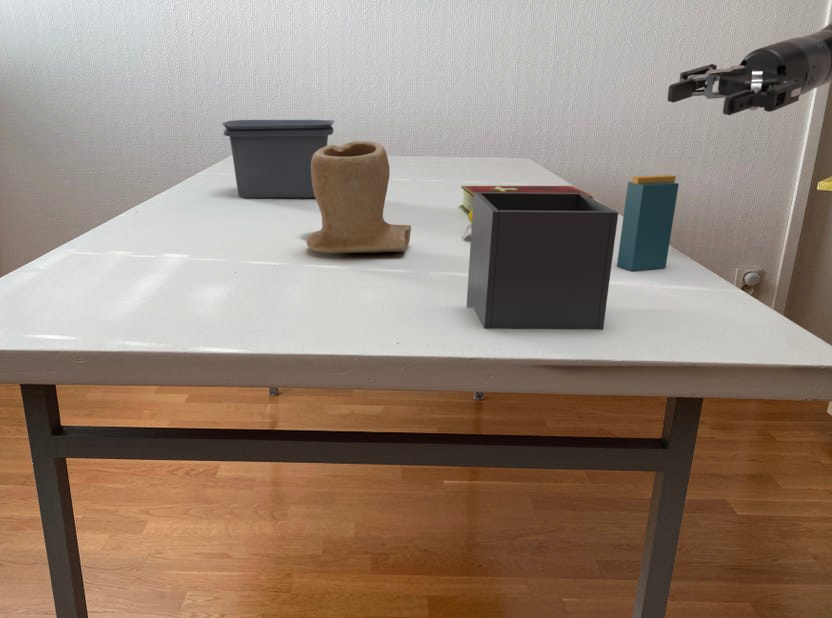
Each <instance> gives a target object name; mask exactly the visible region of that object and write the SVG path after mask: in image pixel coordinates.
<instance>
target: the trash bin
mask: <svg viewBox="0 0 832 618" xmlns="http://www.w3.org/2000/svg"><path fill="white" fill-rule="evenodd" d="M618 219H619V212H618V211H616V210H614V209H613V208H611V207H609V206H608V205H605V204H604V203H602V202H600V201H598V200H597V199H595V200H594V199H593V198H591V197H589V196H587V195H585V194H583V193H519V192H474V199H473V214H472V229H471V231H470V245H469V247H470V248H469V259H468V260H469V262H468V278H467V293H466V296H467V297H466V306H465V307H466V308H467V309H471V308H472V309H473V310H474V312H475V313H476V316H477V317H478V320H479V321H480V323H481V325H482V327H483V329H485V330H488V329H489V330H490V329H491V330H494V329H495V330H597V331H598V330H600V331H601V330H602V331H603V330H604V325H605V318H606V312H607V311H606V309H607V303H608V294H609V288H610V280H611V272H612V264H613V263H612V262H613V256H614V249H615V244H616V243H615V242H616V234H617V227H618Z"/></svg>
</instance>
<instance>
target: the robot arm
mask: <svg viewBox="0 0 832 618" xmlns="http://www.w3.org/2000/svg"><path fill="white" fill-rule="evenodd" d="M717 67H718V65H717V64H714V63H711V64H707V65H704V66H700V67H696V68H693V69H689V70H686V71H683V72H680V73H679V81H678V82H675V83H672V84H670V85H668V89H667V90H668V92H667V101H668V102H669V103H673V104H674V103H676V102H680V101H682V100H686V99H689V98H692V97H701V96H703V97H705V99H708V100H710V99H724V101H723V107H722V114H723V115H725V116H731V115H734V114H737V113H740V112H743V111H746V110H750V111H756V110H758V109H759V108H761V109H762V108H763V111H765V112H768V113H770V112H775V111H778V110H779V109H781V108H784V107H787V106H790V105H792V104H794V103H796V102H798V101H799V100H800V96H803V95H805V94H807V93H809V92H811V91H812V90H814V89H818V88H820V87H822V86H826V85H828V84H831V83H832V21H831V22H830V23H828V24H827V25H826V26H825V27H823V28H822V29H820V30H819V31H816V32H814V33H809V34H807V35H804V36H797V37H792V38H788V39H785V40H782V41H779V42H776V43H772V44H769V45H766V46H762V47H760V48H757V49H754V50H752V51H750V52H749V53H748V54H746V56H745V57H744V58H743V59H742V61H741V62H740V63H739V64H738V65H732V66H730V67H728V68H727V67H726V68H717ZM716 82H718V84H717V91H713V88H714V85H715V83H716Z"/></svg>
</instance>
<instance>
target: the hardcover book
mask: <svg viewBox="0 0 832 618" xmlns="http://www.w3.org/2000/svg"><path fill="white" fill-rule="evenodd" d="M460 188H461V189H462V190H463V191H462V192H463V193H462V204H459V208H460V209H461V210H463V211H464V212H465V213H466V215H468V216H469V213H470V211H471V210H472V209H473V199H474V192H519V193H583V194H585V195H587V196H589V197H591V198H593V199H594V200H596V196H595V195H594V194H592V193H591V192H588V191H585V190H583V189H581V188H579V187H576V186H574V185H461V186H460Z"/></svg>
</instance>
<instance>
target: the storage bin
mask: <svg viewBox="0 0 832 618" xmlns="http://www.w3.org/2000/svg"><path fill="white" fill-rule="evenodd" d="M334 124H335V120H334V119H236V120H235V119H234V120H228V121H224V122H222V123H221V125H222V126H223V127H224V128H225V129H224V130H223V136H225V137H229V143H230V149H231V156H232V162H233V168H234V169H233V170H234V176H235V182H236V183H235V184H236V189H237V195H238V197H239V198H243V199H247V198H248V199H260V198H261V199H262V198H263V199H268V198H271V199H273V198H277V199H279V198H282V199H284V198H286V199H287V198H293V199H295V198H299V199H300V198H307V199H310V198H315V195H314V191H313V186H312V176H311V160H312V157H313V155H314V153H315V152H316V151H318V150H319V149H321V148H323V147H325V146H328V141H329V136H332V135H333V133H334V127H333V125H334Z"/></svg>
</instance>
